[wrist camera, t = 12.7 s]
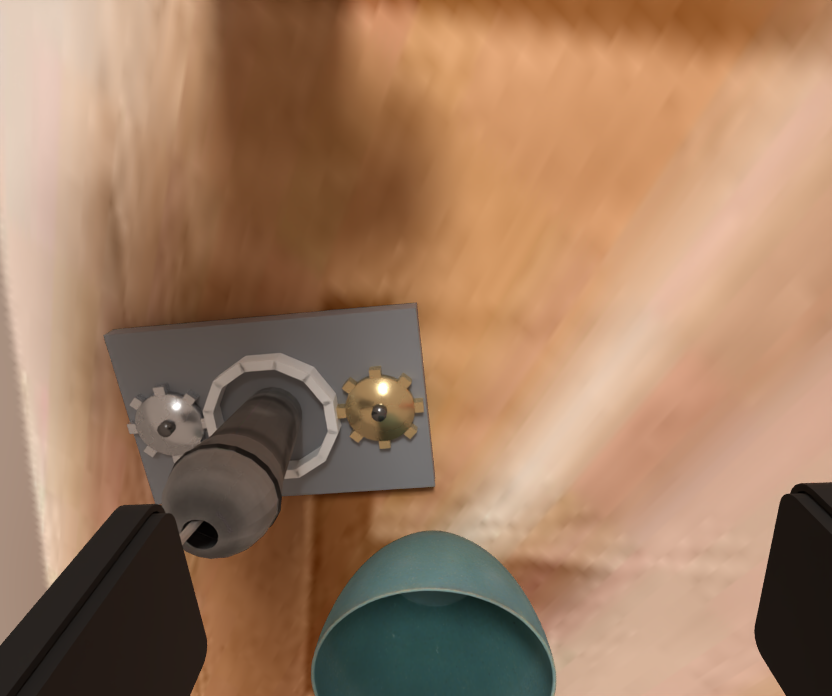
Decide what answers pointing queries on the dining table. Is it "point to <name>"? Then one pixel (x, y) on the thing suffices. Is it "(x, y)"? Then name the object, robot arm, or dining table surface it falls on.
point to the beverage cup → (235, 477)
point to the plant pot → (432, 627)
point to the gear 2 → (380, 407)
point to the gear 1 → (168, 421)
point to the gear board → (288, 387)
